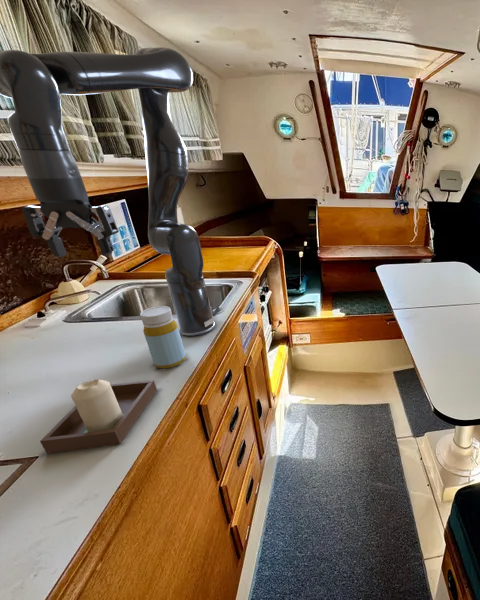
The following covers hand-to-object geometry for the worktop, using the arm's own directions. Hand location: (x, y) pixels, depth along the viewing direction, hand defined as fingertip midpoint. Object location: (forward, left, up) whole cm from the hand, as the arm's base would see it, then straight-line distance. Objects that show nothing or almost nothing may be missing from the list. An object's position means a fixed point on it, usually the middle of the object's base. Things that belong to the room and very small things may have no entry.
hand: (84, 255), depth 70 cm
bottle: (-2, +9, -30) cm, 32 cm away
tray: (+18, +5, -30) cm, 35 cm away
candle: (+21, +6, -30) cm, 36 cm away
